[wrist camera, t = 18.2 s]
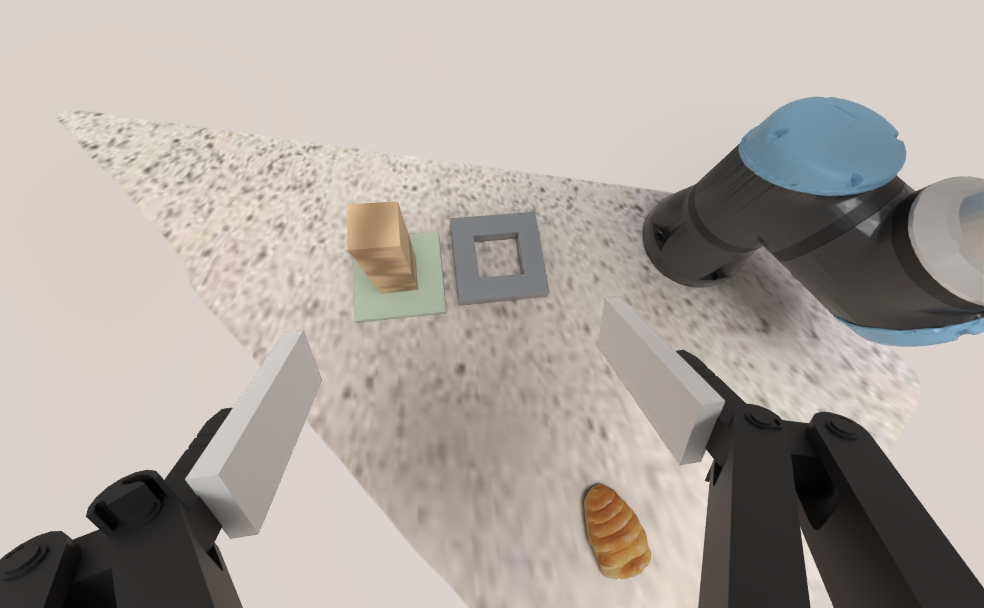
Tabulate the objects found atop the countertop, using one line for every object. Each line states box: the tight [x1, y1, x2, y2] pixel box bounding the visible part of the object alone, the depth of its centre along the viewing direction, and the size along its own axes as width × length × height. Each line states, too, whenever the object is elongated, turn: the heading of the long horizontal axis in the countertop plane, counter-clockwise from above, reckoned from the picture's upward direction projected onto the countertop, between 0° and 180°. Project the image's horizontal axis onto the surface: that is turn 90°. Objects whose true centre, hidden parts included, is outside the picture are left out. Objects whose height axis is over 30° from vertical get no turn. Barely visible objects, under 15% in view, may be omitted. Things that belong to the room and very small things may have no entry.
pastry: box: [584, 484, 651, 579], centre depth 41 cm, size 9×7×4 cm
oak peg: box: [347, 201, 418, 293], centre depth 41 cm, size 5×5×14 cm
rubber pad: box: [353, 232, 446, 322], centre depth 49 cm, size 12×12×1 cm
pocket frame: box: [450, 212, 549, 305], centre depth 50 cm, size 12×12×2 cm
